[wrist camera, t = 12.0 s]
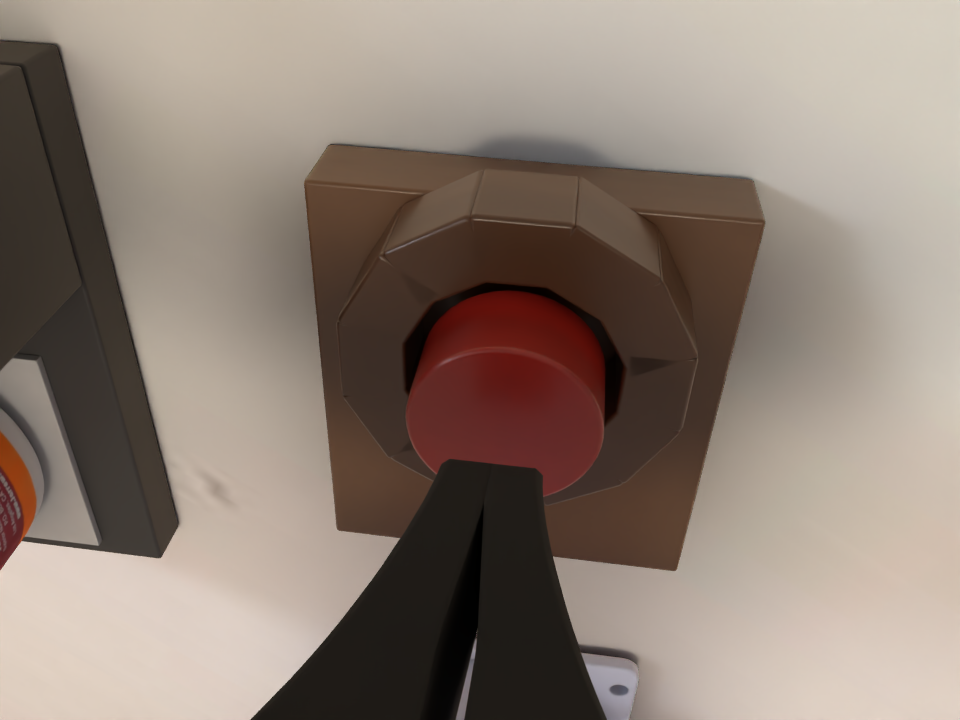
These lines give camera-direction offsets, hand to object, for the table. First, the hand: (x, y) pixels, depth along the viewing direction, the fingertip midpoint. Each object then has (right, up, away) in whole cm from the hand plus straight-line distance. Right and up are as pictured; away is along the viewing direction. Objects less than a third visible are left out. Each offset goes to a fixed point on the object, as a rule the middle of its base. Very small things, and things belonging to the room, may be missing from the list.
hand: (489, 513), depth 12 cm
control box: (+1, +2, +7) cm, 7 cm away
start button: (0, +2, +3) cm, 4 cm away
